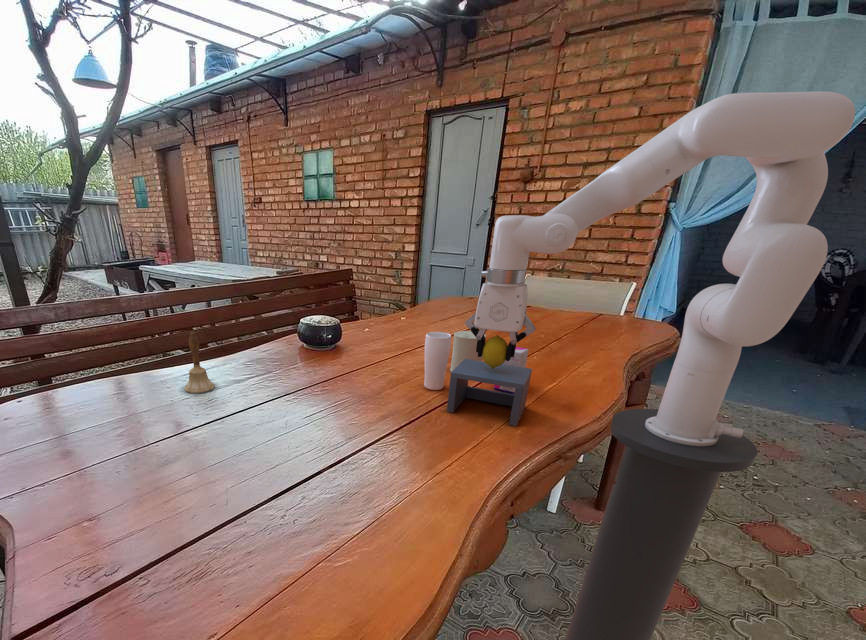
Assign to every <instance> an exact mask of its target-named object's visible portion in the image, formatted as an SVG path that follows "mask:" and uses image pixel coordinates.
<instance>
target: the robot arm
mask: <svg viewBox="0 0 866 640" xmlns="http://www.w3.org/2000/svg"><path fill="white" fill-rule="evenodd" d="M855 118H856V108H855V104H854V103H853V101H852V100H851V99H850V98H849V97H847V96H846V95H844V94H842V93H839V92H836V91H780V92H779V91H773V92H771V91H770V92H768V91H767V92H766V91H765V92H734V93H728V94H724V95H720V96H719V97H718V96H717V97H716V98H713V99H712V100H709V101H708V102H705V103H704V104H702V105H700V106H697V107H696V108H694V109H692V110H690V111H689V112H688V113H686V114H685V115H683V116H682V117H680V118H679V119H678V120H676V121H675V122H673V123H672V124H670V125H669V126H668V127H666V128H664V129H663V130H662V131H659V133H658V134H656V135H655V136H653V137H652V138H650V139H649V140H647V141H646V142H645V143H643V144H642V145H640V146H639V147H637V148H636V149H635V150H634V151H632V152H630V153H629V154H628V155H626V156H625V157H623V158H621V159H620V160H619V161H618V162H616V163H615V164H614V165H612V166H611V167H609V168H607V169H606V170H605V171H604V172H602V173H601V174H599V175H598V176H597V177H595V178H594V179H593V180H591V182H589V183H588V184H586V185H584V186H583V187H581V188H580V189H579V190H578V191H576V192H575V193H572V195H570V196H569V197H568V198H566V199H565V200H563V201H562V202H560V203H559V204H557V205H556V206H555V207H553V208H551V209H550V210H549V211H547V212H546V213H544V214H543V215H538V216H531V215H526V214H525V215H524V214H514V215H513V214H511V215H510V214H509V215H502V216H499V217H498V218H497V219H496V220H495V223H494V230H493V236H492V245H491V252H490V259H489V265H488V266H489V267H488V269H486V270H482V271H481V275H480V276H481V278H485V279H486V281H485V282H483V283H482V286H481V289H480V292H479V296H478V300H477V305H476V311H475V312H474V313H473V314H472V315H471V316H470V317H468V318H467V319H466V320H465V321H464V325H465V326H466V327H467V328H468V329H469V331H471V332H472V333H473V334H474V336H475V337H476V339H477V347H476V352H478V357H481V356H482V351H483V347H484V345H485V343H486V341H487V339H486V338H485V336H484V335H486V333H487V331H495V332H503V333H508V335H509V342H508V343H507V345H508V348H507V354H506V361H509V360H510V359H511V357H514V355H515V349H516V347H517V344H518V343H519V342H521V341H522V340H523V339H525V338H526V337H529V336H530V335H531V334H533V333H535V331H536V326H535V325H534V324H533V322H532V321H531V320H530V318H529V317H528V316H527V306H528V284H525V282H526V276H527V269H528V263H529V257H530V253H531V252H532V253H539V254H545V255H558V254H561V253H563V252H565V251H567V250H568V249H570V248H571V247H572V246H573V244H574V243H575V241H576V239H577V237H578V234H579V233H581V232H582V231H584V230H585V229H588V228H589V227H590V226H592V225H594V224H595V223H597V222H599V221H600V220H603V219H604V218H606V217H608V216H611V215H613V214H616V213H619V212H621V211H624V210H627V209H629V208H632V207H633V206H635V205H637V204H639V203H641V202H643V201H644V200H646V199H647V198H649V197H650V196H652V195H654V194H655V193H657V192H658V191H659V190H661V189H663V188H664V187H665V186H668V185H669V184H670V183H672V182H673V181H675V180H676V179H678V178H679V177H681V176H682V175H684V174H686V173H687V172H689V171H690V170H692V169H694V168H695V167H697V166H698V165H701V164H702V163H703V162H704V161H706V160H708V159H710V158H713V157H717V156H723V157H724V156H727V157H744V158H745V159H746V160H747V161H748V163H749V164H750V165H751V166H752V168H753V170H754V172H755V175H756V187H755V191H754V194H753V196H752V199H751V201H750V203H749V205H748V207H747V209H746V211H745V213H744V214H743V217H742V218H741V220H740V222H739V224H738V226H737V228H736V229H735V232H734V233H733V235H732V237H731V239H730V241H729V242H728V243H727V246H726V248H725V250H724V252H723V255H722V265H723V268H724V269H725V270H726V271H727V273H729V274H731V275H733V276H735V277H737V278H738V277H739V279H738V280H737V282H736V283H735V284H734V283H718V284H714V285H711V286H708V287H706V288H704V289H702V290H700V291H699V292H698V293H697V294H695V296H693V298H692V299H691V300H690V302H689V304H688V305H687V308H686V311H685V315H684V320H683V328H682V335H681V339H680V343H679V347H678V349H677V353H676V356H675V358H674V362H673V364H672V368H671V369H670V374H669V377H668V380H667V383H666V386H665V389H664V392H663V395H662V398H661V401H660V404H659V407H658V409H657V410H658V413H657V416H655V417H651V418H648V419H647V420H646V422H645V427H646V429H647V430H648V431H649V432H651V433H652V434H654V435H656V436H658V437H660V438H663V439H665V440H668V441H671V442H675V443H679V444H683V445H689V446H711V445H714V444H716V443H717V441H718V438H719V437H718V436H720V435H721V434H722V435H728V436H730V437H736V438H741V437H742V435H743V436H744V429H743V428H738V427H734V426H733V424H731V423H727V422H719V421H718V419H717V416H718V414H719V412H720V409H721V407H722V404H723V402H724V399H725V396H726V394H727V390H728V389H729V386H730V383H731V381H732V378H733V377H734V373H735V371H736V369H737V366H738V364H739V361H740V357H741V355H742V348H743V347H754V346H758V345H761V344H763V343H765V342H767V341H769V340H771V339H772V338H774V337H775V336H776V335H778V333H780V331H781V330H782V329H783V328H784V327H785V326H786V324H787V323H788V322H789V320H790V319H791V318H792V316H793V314H795V311H796V310H797V308H798V307H799V305H800V304H801V302H802V301H803V299H804V298H805V296H806V295H807V293H808V291H809V290H810V288H811V287H812V285H813V284H814V282H815V281H816V279H817V277H818V275H819V274H820V272H821V271H822V269H823V267H824V265H825V262H826V260H827V256H828V248H829V246H828V241H827V238H826V235H824V233H823V232H822V231H821V230H819V229H818V228H817V227H814V226H812V225H809V221H810V219H811V218H812V216H813V214H814V212H815V210H816V208H817V206H818V204H819V202H820V200H821V199H822V196H823V194H824V192H825V189H826V187H827V183H828V179H829V166H828V161H827V157H826V154H825V152H827V151H829V150H830V149H831V148H833V147H834V146H836V145H837V144H838V143H840V141H841V140H843V139H844V137H845V136H846V135H847V134H848V133H849V131H850V129H851V128H852V127H853V124H854V121H855ZM523 327H525V330H523V331H521V330H522V329H523ZM520 331H521V332H520ZM519 332H520V333H519Z"/></svg>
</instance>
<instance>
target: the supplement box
mask: <svg viewBox="0 0 866 640" xmlns="http://www.w3.org/2000/svg"><path fill="white" fill-rule="evenodd" d="M528 355H529V348H525V347H519V346H516V349H515V355H514V357H511V359H510V360H509V361H506V360H505V362H504V363H503V365H510V366H516V367H523V368H527V361H528ZM515 389H516V388H512V387H506V386H500V385H494V386H493V391H498V392H504V393H509V394H515Z"/></svg>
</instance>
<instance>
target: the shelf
mask: <svg viewBox="0 0 866 640" xmlns="http://www.w3.org/2000/svg"><path fill="white" fill-rule="evenodd" d="M532 372H533V368H528V367H526V368H523V367H516V366H510V365H503V364H502V365H500V366H497V367H495V368H494V369H492V368H491V367H490V366H489V365H487V364H486V363H485V362H484V360H482V361H476V360H469V359H464V360H463V361H462V362H461V363H460V364H459V365H458V366H457V367H456V368H455V369H454V370H453V371H452V372H451V371H450V379H449V387H448V397H447V405H446V406H447V407H446V412H447V413H451V414H453V413H455V411H456V410H457V409H458V407H459V406H460V405H461V404H462V403H463V402H464V400H465V399H470V400H475V401H481V402H485V403H491V404H495V405H501V406H507V407H511V411H510V417H509V422H508V425H509V426H513V427H517V426H518V424H519V422H520V420H521V417H522V416H523V413H524V411H525V409H526V405H527V404H526V403H527V399H528V393H529V388H530V383H531V377H532ZM469 381H471V382H478V383H483V384H489V385H494V386H495V385H500V386H506V387H512V388H516V389H515V394H511V393H507V392H503V391H499V390H492V389H487V388H481V387H476V386H470V385H469Z"/></svg>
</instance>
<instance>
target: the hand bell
mask: <svg viewBox="0 0 866 640" xmlns="http://www.w3.org/2000/svg"><path fill="white" fill-rule="evenodd" d="M188 346H189V350H190V352H191V355H192V362H193V367H191V368H190V369H189V371H188V380H187V383H186V384H185V385H184V387H183V388H184V389H183V390H184V392H186V393H191V394H200V393H206V392H210V391H211V390H213V389H215V387H216V386H215V383H214V382H212V381H211V380H210V378H209V377H208V373H207V370H206V368H204V367H202V366H201V362H200V356H199V354H200V341H199V339H198V336H197V334H196V332H195V331H191V332H189V338H188Z"/></svg>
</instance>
